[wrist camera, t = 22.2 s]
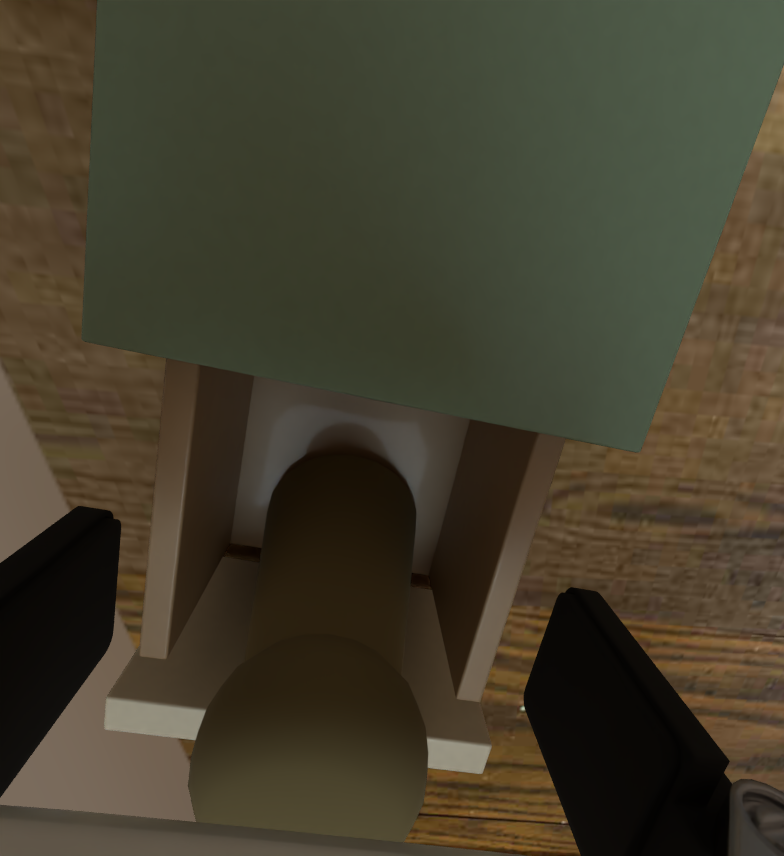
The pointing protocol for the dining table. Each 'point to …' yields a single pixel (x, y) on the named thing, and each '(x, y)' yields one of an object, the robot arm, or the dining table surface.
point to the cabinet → (423, 194)
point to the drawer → (244, 524)
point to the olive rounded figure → (322, 668)
